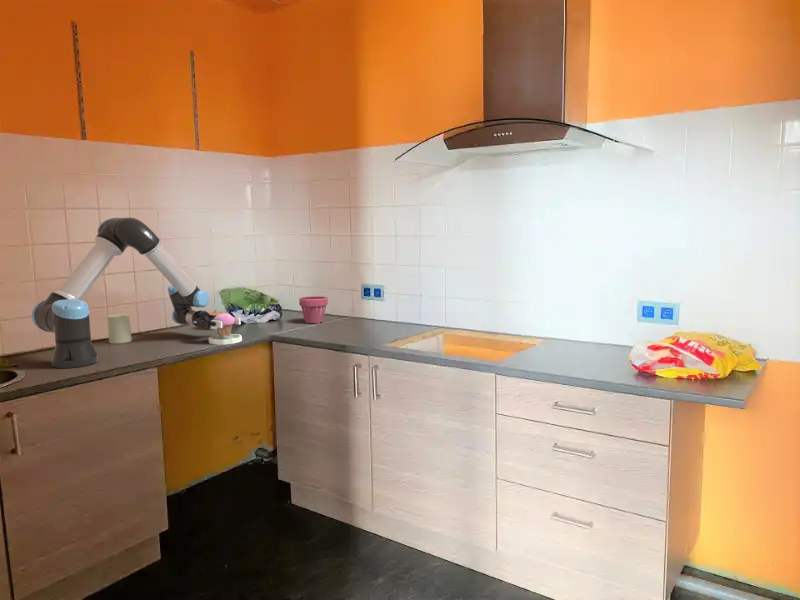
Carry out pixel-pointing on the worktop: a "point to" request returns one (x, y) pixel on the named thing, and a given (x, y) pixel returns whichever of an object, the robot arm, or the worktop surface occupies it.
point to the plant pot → (313, 308)
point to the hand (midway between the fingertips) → (230, 323)
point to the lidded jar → (215, 314)
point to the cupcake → (225, 323)
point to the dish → (225, 339)
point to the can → (119, 328)
